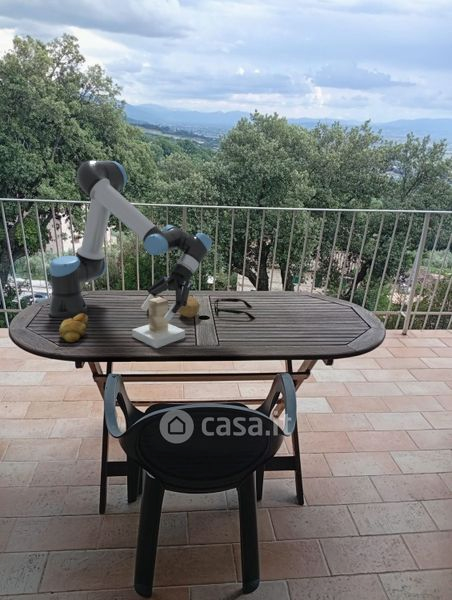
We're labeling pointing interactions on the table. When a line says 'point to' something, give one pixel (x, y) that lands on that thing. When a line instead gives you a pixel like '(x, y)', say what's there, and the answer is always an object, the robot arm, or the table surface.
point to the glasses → (233, 310)
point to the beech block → (158, 315)
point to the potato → (190, 307)
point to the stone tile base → (158, 335)
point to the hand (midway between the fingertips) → (154, 314)
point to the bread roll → (73, 327)
